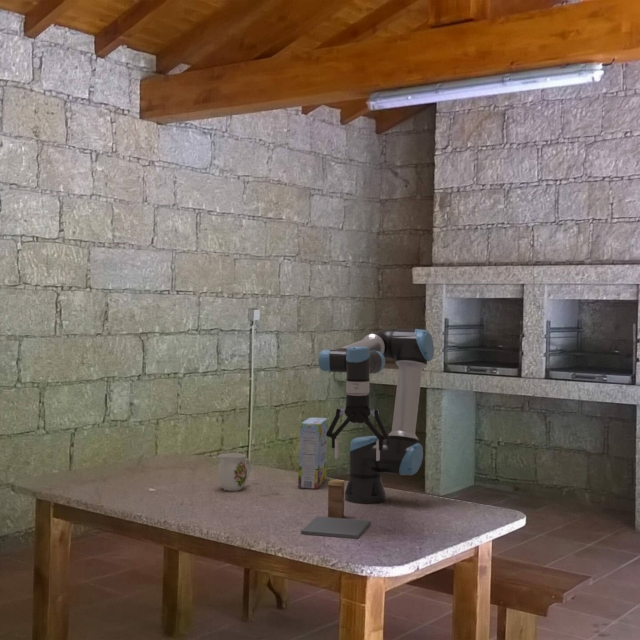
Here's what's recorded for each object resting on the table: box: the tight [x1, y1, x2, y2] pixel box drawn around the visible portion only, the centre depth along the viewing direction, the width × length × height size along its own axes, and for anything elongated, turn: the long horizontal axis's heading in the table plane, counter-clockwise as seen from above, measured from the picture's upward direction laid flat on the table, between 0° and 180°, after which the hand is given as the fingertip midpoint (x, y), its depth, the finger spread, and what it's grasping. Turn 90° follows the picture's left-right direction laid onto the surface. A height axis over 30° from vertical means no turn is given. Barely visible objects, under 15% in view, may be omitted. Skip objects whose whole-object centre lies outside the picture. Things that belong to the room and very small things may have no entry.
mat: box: [300, 516, 371, 540], centre depth 276 cm, size 20×18×1 cm
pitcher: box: [217, 452, 252, 492], centre depth 335 cm, size 11×18×14 cm, turn 143°
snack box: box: [297, 417, 329, 490], centre depth 347 cm, size 22×9×26 cm, turn 171°
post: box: [327, 479, 345, 518], centre depth 292 cm, size 4×4×12 cm
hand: (357, 459), depth 281 cm, fingers open, 13 cm apart
